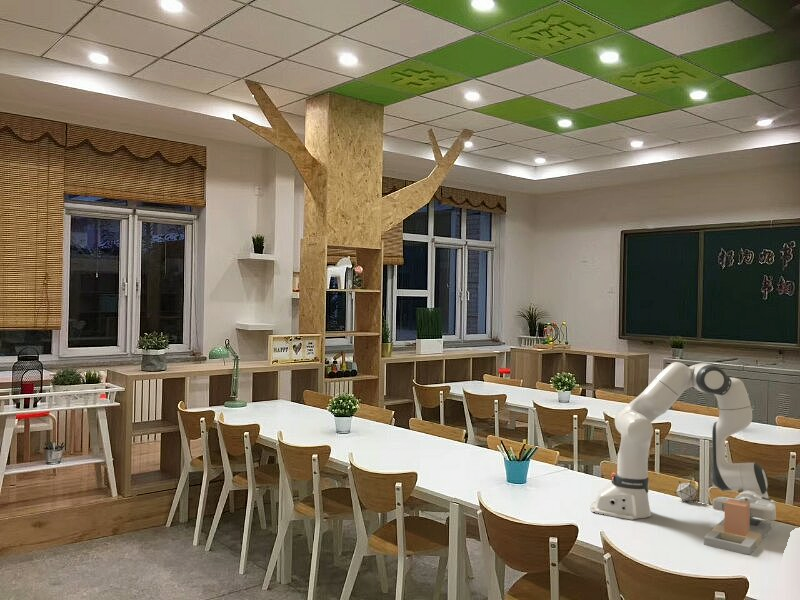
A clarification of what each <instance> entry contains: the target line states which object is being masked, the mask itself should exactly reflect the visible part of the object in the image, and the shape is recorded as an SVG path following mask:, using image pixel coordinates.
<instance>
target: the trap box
mask: <svg viewBox="0 0 800 600" xmlns="http://www.w3.org/2000/svg"><path fill="white" fill-rule="evenodd" d="M770 529H771V530H772V521H770V520H765V519H760V518H754V517H753V518H750V526H749V532H748V534H747V535H746V536H741V535H737V534H732V533H727V532H724V518H723V519H722V520H720V522H719V523H717V524H716V526H713V528H712V529H711V530H710V531H709V532H708V533H707V534H705V535H704V536H703V545H705V546H709V547H713V548H718V549H722V550H725V551H726V550H727V551H731V552H733V553H735V552H736V553H740V554H744V555H748V554H749V555H748V556H750V555H752V553H753V552H754V551H755V550H756V549H757V546H758V545H760V543H762V541H763V540H764V538H765V537H766V536H767V535H768V533H769V532H770V531H771V530H770ZM769 530H770V531H769ZM766 534H767V535H766ZM765 535H766V536H765ZM762 539H763V540H762ZM761 540H762V541H761ZM753 550H754V551H753ZM752 551H753V552H752Z"/></svg>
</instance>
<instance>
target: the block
mask: <svg viewBox="0 0 800 600" xmlns="http://www.w3.org/2000/svg"><path fill="white" fill-rule="evenodd" d="M734 499H735V498H733V499H729V500H727V501H726V502H725V512H724V517H723V519H724V532H727V533H732V534H737V535H741V536H746V535H747V534H748V532H749V526H750V502H745V501H739V500H734Z"/></svg>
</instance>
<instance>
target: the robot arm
mask: <svg viewBox="0 0 800 600" xmlns="http://www.w3.org/2000/svg"><path fill="white" fill-rule="evenodd" d="M691 388H692V389H693V390H694V389H695V390H697V391H699V392H700V393H705V394H709V395H714V396H715V399H716V400H717V406H718V411H719V414H718V419H717V421H715V422H714V423H713V426H712V430H711V431H712V437H711V438H712V439H711V441H712V443H711V445H712V446H711V447H712V448H711V451H712V452H711V453H712V455H711V456H712V465H711V466H712V467H711V480H712V483H713V485H714V486H715V487H716V488H718V489H719V490H721V491H723V492H724V491H732V490H742V491H741V492H740V493H739V494H738V495H736V496H735V498H734V497H733V498H732V497H726V496H718V497H715V498H713V500H712V509H713V510H715V511H720V512H724V513H725V502H726V501H727V500H729V499H734V500H739V501H745V502H750V518H755V519H760V520H765V521H770V522H773V521H774V522H775V521H776V517H777V507H776V501H775V500H773V499H770V498H769V494H768V490H769V479H768V475H767V472H766V470H765V469H764V467H762V466H761V465H760V464H759V463H758V462H737V463H736V462H733V463H730V462H727V461H726V440H727V438H728V437H730V436H732V435H735V434H737V433H740V432H741V431H743V430H745V429H746V428H747V427H749V426H750V425H751V423H752V421H753V410H752V403H751V400H750V397H749V394H748V391H747V388H746V387H745V383H744V382H743V380H741V379H739V378H737V377H730V376H728V375H727V373H726V372H725V371H724V370H723V369H722V368H721V367H719V366H718V365H716V364H715V365H714V364H711V363H709V362H698V363H693V364H691V365H686V364H685V363H682V362H680V361H675V362H671V363H670V364H668V365H667V366H666V367H665V368H663V370H662V371H660V372H659V374H657V376H656V377H655V378H654V379H653V380H652V381H651V382H650V383H649V385H648V386H647V387H646V388H645V389H644V390H643V391H642V392H641V393H640V394H638V395H637V397H635V398H634V399H632V401H630V402H629V403H628V404H627V405H626V406H625V407H624V408H622V409H621V410H619V411H618V412H617V413H616V414H615V416H614V426H615V429H616V430H617V432H618V433H619V434H620V438H621V439H620V445H619V449H618V453H617V463H616V464H617V465H616V467H617V471H616V472H617V473H616V472H612V473H611V476H610V477H611V483H609V484H608V485H606V486H605V487H603V488H602V489H600V490H599V491H598V493H597V495H596V498H595V501H593V502H591V503H590V505H589V510H590V511H591V512H592V513H593V512H595V513H594V514H598V513H599V515H603V514H604V516H610V517H615V518H620V519H625V520H636V519H645V518H649V517H651V516H652V511H651V507H650V501H649V494H648V493H649V490H650V488H649V487H650V479H649V476H648V472H649V469H648V468H649V467H648V466H649V464H648V463H649V452H650V447H651V443H652V438H653V436H654V427H653V424H652V422H654V421H655V420H656V419H657V418H659V417H660V416H662V415H664V414H665V413H667V411H669V410H670V408H671V407H672V406H673V405H674V404H675V402H676V401H677V400H678V399H679V398H680V397H681V396H682V394H683V393H684V392H685V391H687V390H688V389H691Z"/></svg>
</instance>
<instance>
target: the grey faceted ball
mask: <svg viewBox="0 0 800 600" xmlns="http://www.w3.org/2000/svg"><path fill="white" fill-rule="evenodd" d="M678 483H679V485H678V487H677V489H676V490H675V491H673V493H675V494H677V495H678V497H679V498H680V500H681V502H682V501H683V502H684V501H685V502H688V501H689V502H690V501H692V502H693V503H694V502H695V498H696V495H697V494H698V493H699V492H700V490H699V489H698V490H697V489H696V487H695V486H694V485H693V484H692V480H691V481H689V482H681V481H680V480H679V481H678Z"/></svg>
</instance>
